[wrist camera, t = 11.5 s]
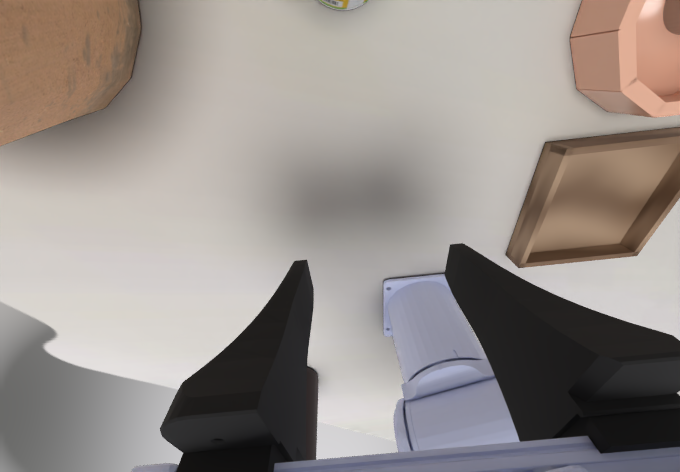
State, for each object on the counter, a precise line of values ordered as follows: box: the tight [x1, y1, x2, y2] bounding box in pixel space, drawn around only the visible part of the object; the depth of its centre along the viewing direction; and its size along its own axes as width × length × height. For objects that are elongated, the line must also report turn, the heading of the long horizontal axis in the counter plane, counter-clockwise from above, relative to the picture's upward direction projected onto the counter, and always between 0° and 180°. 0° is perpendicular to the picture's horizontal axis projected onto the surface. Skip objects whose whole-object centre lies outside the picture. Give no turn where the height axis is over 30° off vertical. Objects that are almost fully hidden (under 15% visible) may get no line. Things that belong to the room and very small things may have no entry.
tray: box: [506, 127, 680, 268], centre depth 21 cm, size 11×11×2 cm
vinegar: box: [306, 367, 318, 461], centre depth 28 cm, size 7×7×20 cm
